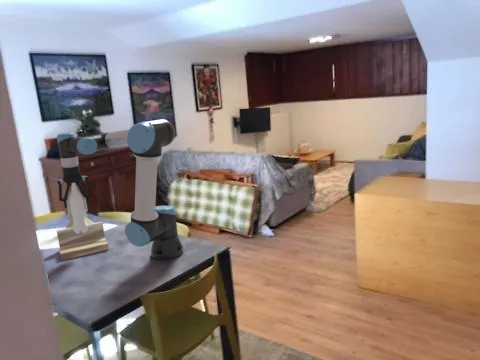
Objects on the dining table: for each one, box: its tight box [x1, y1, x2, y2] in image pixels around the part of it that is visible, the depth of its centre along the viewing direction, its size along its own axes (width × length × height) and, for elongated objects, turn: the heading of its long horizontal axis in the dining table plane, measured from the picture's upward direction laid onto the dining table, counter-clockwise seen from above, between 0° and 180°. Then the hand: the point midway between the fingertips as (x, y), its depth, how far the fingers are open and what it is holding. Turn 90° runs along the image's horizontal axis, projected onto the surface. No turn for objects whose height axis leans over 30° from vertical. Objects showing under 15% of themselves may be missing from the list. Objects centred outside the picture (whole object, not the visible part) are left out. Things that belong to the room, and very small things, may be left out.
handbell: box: [65, 210, 94, 228], centre depth 238 cm, size 15×15×25 cm
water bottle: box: [67, 183, 88, 234], centre depth 197 cm, size 7×7×25 cm
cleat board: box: [56, 221, 110, 261], centre depth 205 cm, size 14×22×11 cm, turn 115°
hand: (78, 212), depth 197 cm, fingers closed on water bottle, 7 cm apart
